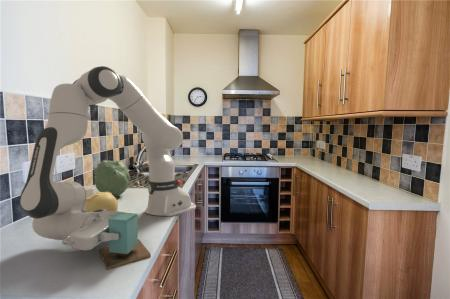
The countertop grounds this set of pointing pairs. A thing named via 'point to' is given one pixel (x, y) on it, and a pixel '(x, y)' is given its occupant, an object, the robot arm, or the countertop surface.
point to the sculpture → (101, 202)
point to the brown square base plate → (123, 256)
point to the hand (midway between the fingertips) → (126, 231)
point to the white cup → (89, 192)
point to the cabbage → (111, 177)
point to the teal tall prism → (123, 232)
